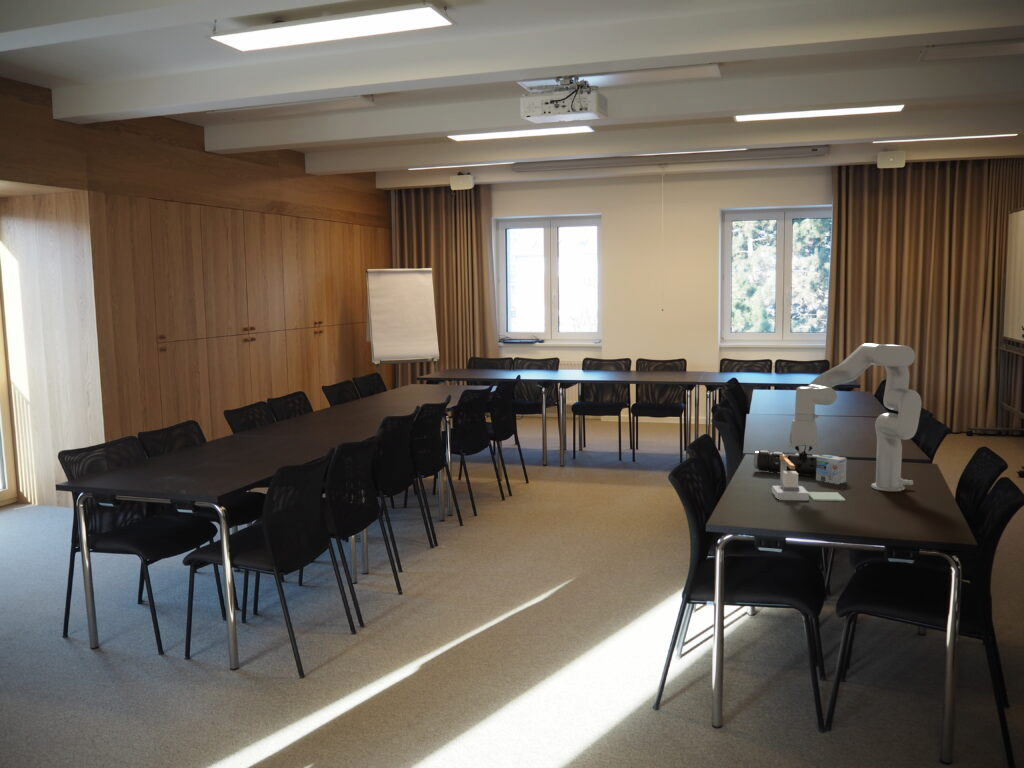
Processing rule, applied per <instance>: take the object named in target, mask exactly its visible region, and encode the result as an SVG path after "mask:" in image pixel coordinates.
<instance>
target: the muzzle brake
mask: <svg viewBox="0 0 1024 768" xmlns="http://www.w3.org/2000/svg"><path fill="white" fill-rule="evenodd" d="M780 455H788V460H790V461H791V462H792V463H793V464H794V465H795V469H790V468H789V467H788V466H787V471H796V472H797V473H798V476H802V475H804V476H803V477H814V476H815V478H816V465H817V456H821V455H820V454H816V453H815V454H811V453H810V454H809V453H807V461H806V463H801V462H800V461H799V452H797V453H796V452H786V451H785V452H784V451H773V452H772V451H770V450H768V449H767V450H766V449H760V450H756V451H754V453H753V468H754V469H755V470H758V471H760V472H768V473H769V472H773V473H772V474H774V473H777V474H778V473H780V470H781V461H780Z"/></svg>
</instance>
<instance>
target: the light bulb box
mask: <svg viewBox="0 0 1024 768" xmlns="http://www.w3.org/2000/svg"><path fill="white" fill-rule="evenodd" d="M815 481H817V482H823V481H824V482H823V483H828V482H829V483H828V484H833V483H834V484H833V485H841V484H844V483H846V481H847V457H842V456H837V455H830V454H822V455H821V456H817V465H816V477H815ZM843 482H844V483H843ZM840 483H841V484H840Z"/></svg>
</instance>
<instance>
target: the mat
mask: <svg viewBox="0 0 1024 768" xmlns="http://www.w3.org/2000/svg"><path fill="white" fill-rule="evenodd" d="M807 492H808V493H809V498H811V499H812V500H813V501H816V502H818V501H820V502H821V501H822V502H828V501H830V502H846V498H844V496H842V495H841V494H840V493H839V492H837V491H835V492H834V491H832V492H831V491H807Z"/></svg>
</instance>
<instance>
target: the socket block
mask: <svg viewBox="0 0 1024 768" xmlns="http://www.w3.org/2000/svg"><path fill="white" fill-rule="evenodd" d="M783 471H787V465H786V464H785V463H784V462H783V461H781V470H780V472H779V473H780V474H779V475H780V478H779V485H771V494H772V493H773V494H774V495H775V496H774V495H773V494H772V495H773V496H774V497H775V499H776V498H777V499H779V500H778V501H810V496H809V493H808V492H809V491H807V489H806V488H805V487H804V486H803V485H798V487H799V491H783V490H782V487H781V484H783ZM777 499H776V500H777Z"/></svg>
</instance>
